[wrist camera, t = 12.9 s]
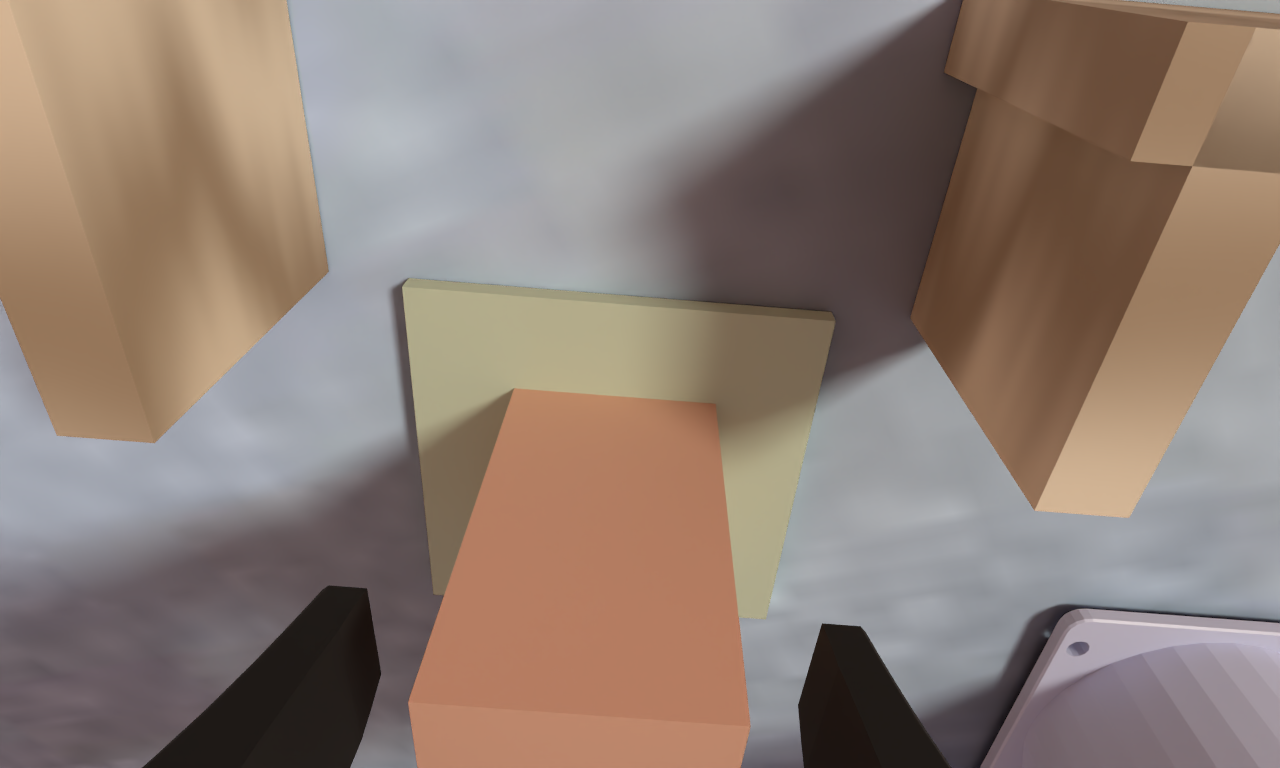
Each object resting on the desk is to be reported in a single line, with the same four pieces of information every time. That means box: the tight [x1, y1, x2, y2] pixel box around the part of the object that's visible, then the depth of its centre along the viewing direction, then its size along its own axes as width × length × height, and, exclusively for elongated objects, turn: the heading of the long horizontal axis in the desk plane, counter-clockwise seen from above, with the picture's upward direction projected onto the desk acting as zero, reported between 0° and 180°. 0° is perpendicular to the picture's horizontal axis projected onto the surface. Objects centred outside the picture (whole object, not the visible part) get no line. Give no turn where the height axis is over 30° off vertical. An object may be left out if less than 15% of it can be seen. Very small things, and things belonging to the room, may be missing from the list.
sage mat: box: [402, 278, 836, 619], centre depth 16 cm, size 8×8×1 cm
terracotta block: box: [408, 388, 750, 768], centre depth 13 cm, size 4×4×7 cm
